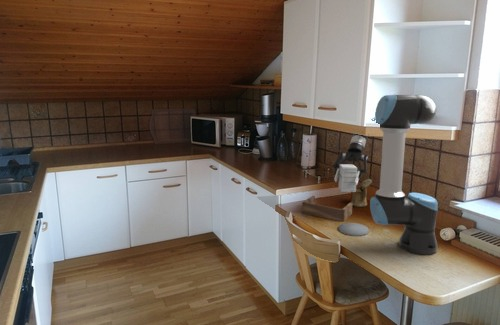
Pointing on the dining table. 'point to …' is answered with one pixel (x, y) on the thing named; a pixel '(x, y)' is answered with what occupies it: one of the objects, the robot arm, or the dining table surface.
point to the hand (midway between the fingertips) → (345, 182)
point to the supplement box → (347, 177)
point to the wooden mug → (361, 194)
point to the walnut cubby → (326, 210)
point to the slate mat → (353, 229)
